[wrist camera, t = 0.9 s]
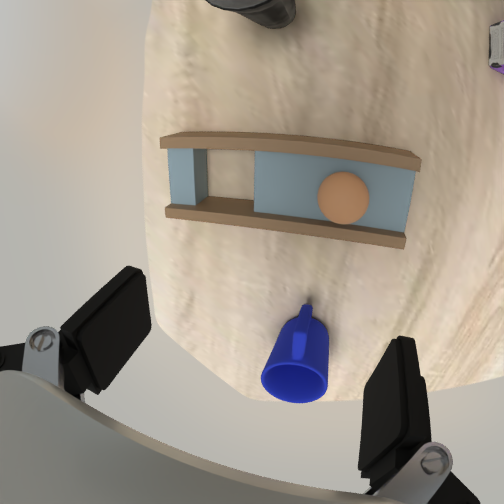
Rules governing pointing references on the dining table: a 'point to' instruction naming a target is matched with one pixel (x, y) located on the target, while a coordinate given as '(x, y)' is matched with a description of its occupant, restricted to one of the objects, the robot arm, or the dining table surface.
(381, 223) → the board
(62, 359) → the robot arm
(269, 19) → the beverage cup
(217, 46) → the dining table surface
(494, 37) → the candy box
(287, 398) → the mug
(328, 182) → the ball
